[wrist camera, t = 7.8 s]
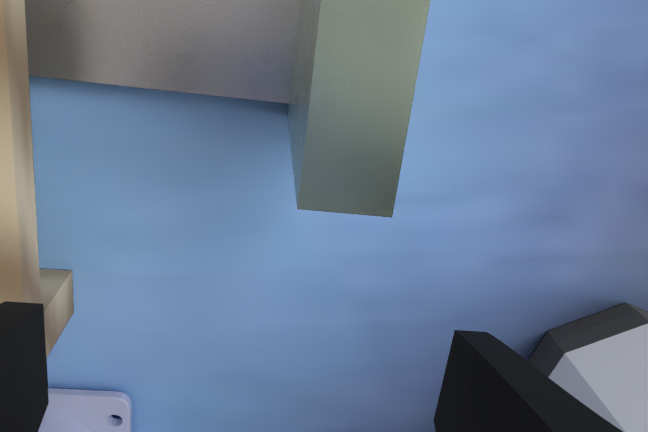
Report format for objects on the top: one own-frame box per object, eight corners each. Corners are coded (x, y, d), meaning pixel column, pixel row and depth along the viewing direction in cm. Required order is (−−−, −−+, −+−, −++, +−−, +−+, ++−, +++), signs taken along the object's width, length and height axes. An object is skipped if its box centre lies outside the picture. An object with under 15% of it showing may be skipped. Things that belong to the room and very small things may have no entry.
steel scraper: (344, 129, 19) (390, 229, 11) (-191, 74, 17) (-551, 149, 10) (370, -62, 17) (446, -91, 9) (-232, -148, 15) (-725, -268, 8)
